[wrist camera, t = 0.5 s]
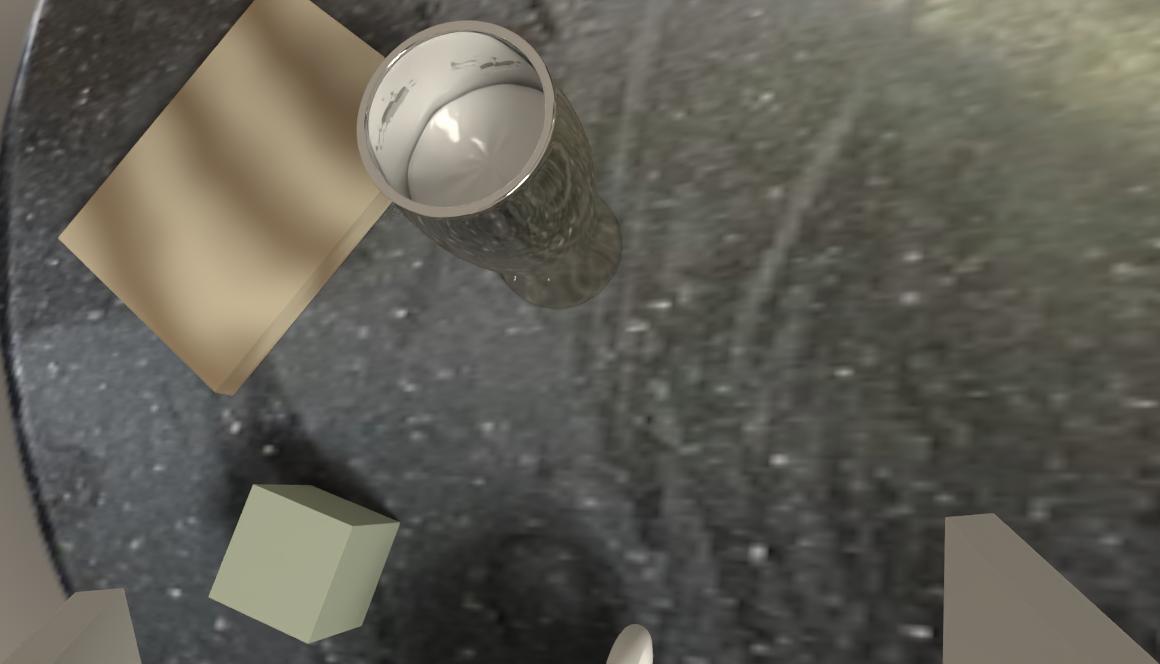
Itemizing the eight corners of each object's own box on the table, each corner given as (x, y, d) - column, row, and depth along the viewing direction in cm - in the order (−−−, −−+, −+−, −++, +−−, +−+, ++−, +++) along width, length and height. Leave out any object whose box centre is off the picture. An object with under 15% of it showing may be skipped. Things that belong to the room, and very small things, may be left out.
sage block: (311, 485, 42) (253, 484, 37) (401, 522, 40) (352, 526, 36) (272, 584, 41) (208, 596, 36) (362, 625, 40) (307, 643, 35)
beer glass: (474, 206, 42) (329, 59, 28) (607, 158, 42) (528, -20, 27) (511, 338, 41) (376, 254, 26) (650, 291, 40) (589, 178, 26)
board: (290, -10, 47) (275, -26, 46) (459, 119, 44) (449, 106, 42) (79, 245, 47) (57, 237, 45) (233, 395, 43) (215, 392, 42)
